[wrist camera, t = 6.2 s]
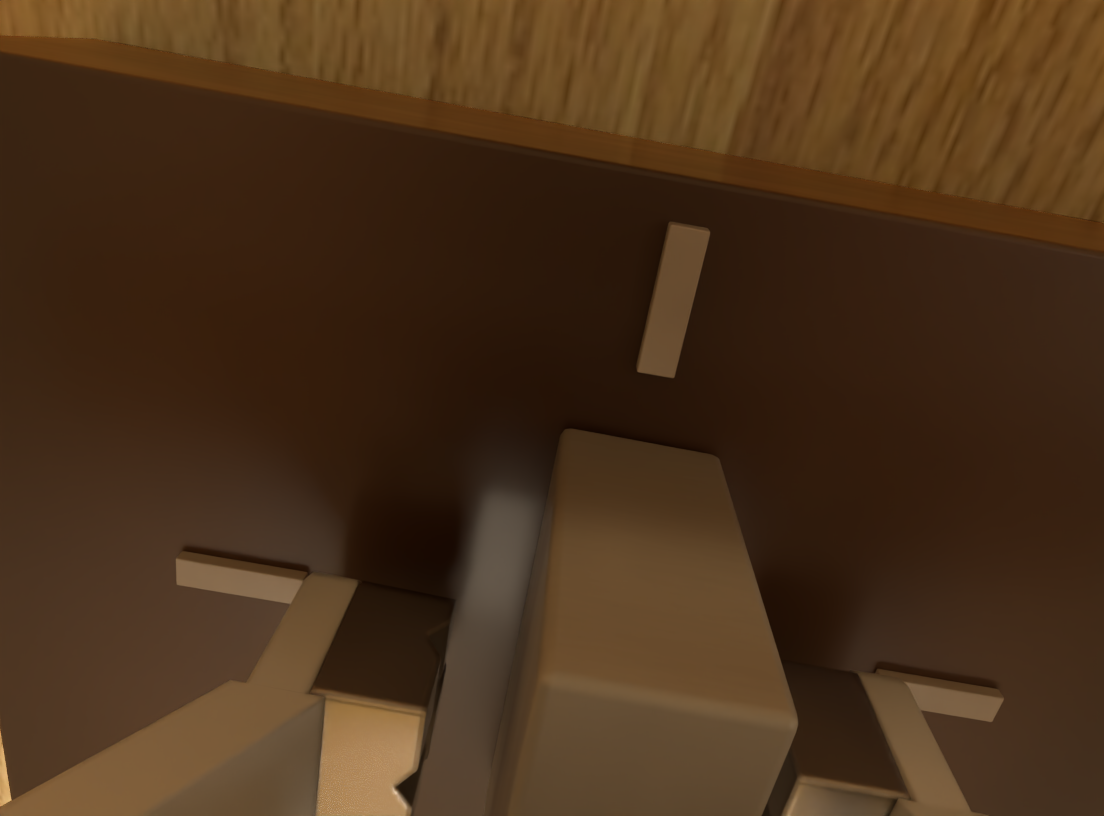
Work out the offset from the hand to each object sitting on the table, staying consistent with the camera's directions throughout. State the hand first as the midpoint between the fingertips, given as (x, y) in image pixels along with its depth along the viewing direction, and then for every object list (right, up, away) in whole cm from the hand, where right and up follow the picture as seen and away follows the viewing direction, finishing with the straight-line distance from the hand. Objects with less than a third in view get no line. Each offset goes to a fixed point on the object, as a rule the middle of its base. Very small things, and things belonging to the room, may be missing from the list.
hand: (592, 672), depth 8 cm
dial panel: (0, +1, +3) cm, 4 cm away
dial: (0, 0, 0) cm, 1 cm away
